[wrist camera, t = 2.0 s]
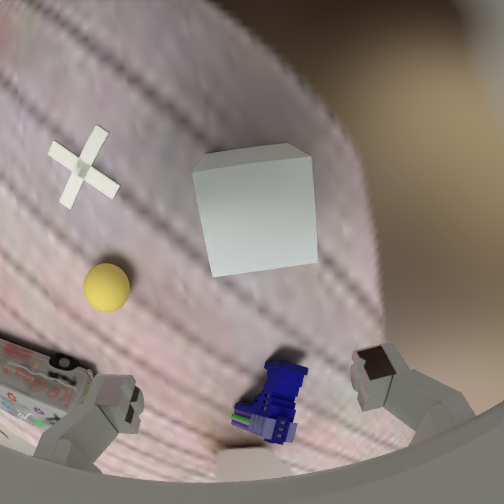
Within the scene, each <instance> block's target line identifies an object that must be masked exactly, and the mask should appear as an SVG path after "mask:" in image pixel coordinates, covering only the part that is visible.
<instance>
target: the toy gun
mask: <svg viewBox="0 0 504 504" xmlns="http://www.w3.org/2000/svg"><path fill="white" fill-rule="evenodd" d="M264 368H265V369H268V372H267V375H268V378H267V382H266V384H264V387H263V391H261V394H258V395H257V396H255V397H254V400H253V402H252V403H251V404H248V403H243V402H239V404H235V408H234V409H235V412H234V414H232V416H231V419H232V422H231V424H232V425H234V426H237V427H238V428H237V429H240V430H243V431H244V432H251V433H254V434H256V435H258V437H259V438H262V439H264V441H267V442H269V443H277V444H281V445H283V442H291V443H293V439H294V435H295V432H296V428H297V423H293V420H294V416H295V412H296V410H294V408H295V404H296V403H294V401H295V397H297V396H298V392H299V387H302V382H303V378H304V375H307V373H308V368H307V367H303V366H300V365H296V364H293V363H290V362H286V361H281V360H278V361H268V362H265V366H264Z"/></svg>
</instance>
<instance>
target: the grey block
mask: <svg viewBox="0 0 504 504" xmlns="http://www.w3.org/2000/svg"><path fill="white" fill-rule="evenodd" d="M192 178H193V183H194V188H195V194H196V199H197V204H198V209H199V214H200V219H201V224H202V229H203V234H204V239H205V243H206V248H207V253H208V257H209V262H210V267H211V271H212V276H213V277H218V276H225V275H233V274H240V273H247V272H255V271H262V270H269V269H276V268H283V267H290V266H296V265H303V264H310V263H317V262H318V260H317V233H316V213H315V197H314V182H313V169H312V157H311V156H310V155H308V154H306V153H304V152H303V151H301V150H299V149H298V148H296V147H294V146H292V145H291V144H289V143H282V144H273V145H264V146H256V147H249V148H241V149H234V150H227V151H221V152H215V153H209V154H205V155H204V156H203V158H202V159H201V160H200V162H199V163H198V164H197V166H196V167H195V169H194V170H193V171H192Z"/></svg>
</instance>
